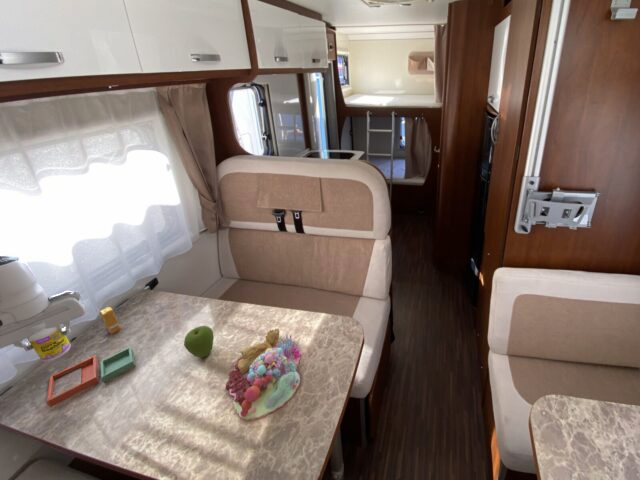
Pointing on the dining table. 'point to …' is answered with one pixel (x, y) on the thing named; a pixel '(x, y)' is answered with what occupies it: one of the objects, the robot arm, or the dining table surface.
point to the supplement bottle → (49, 342)
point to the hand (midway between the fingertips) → (49, 340)
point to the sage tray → (117, 364)
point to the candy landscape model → (264, 377)
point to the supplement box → (110, 320)
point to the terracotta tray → (87, 380)
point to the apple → (199, 341)
